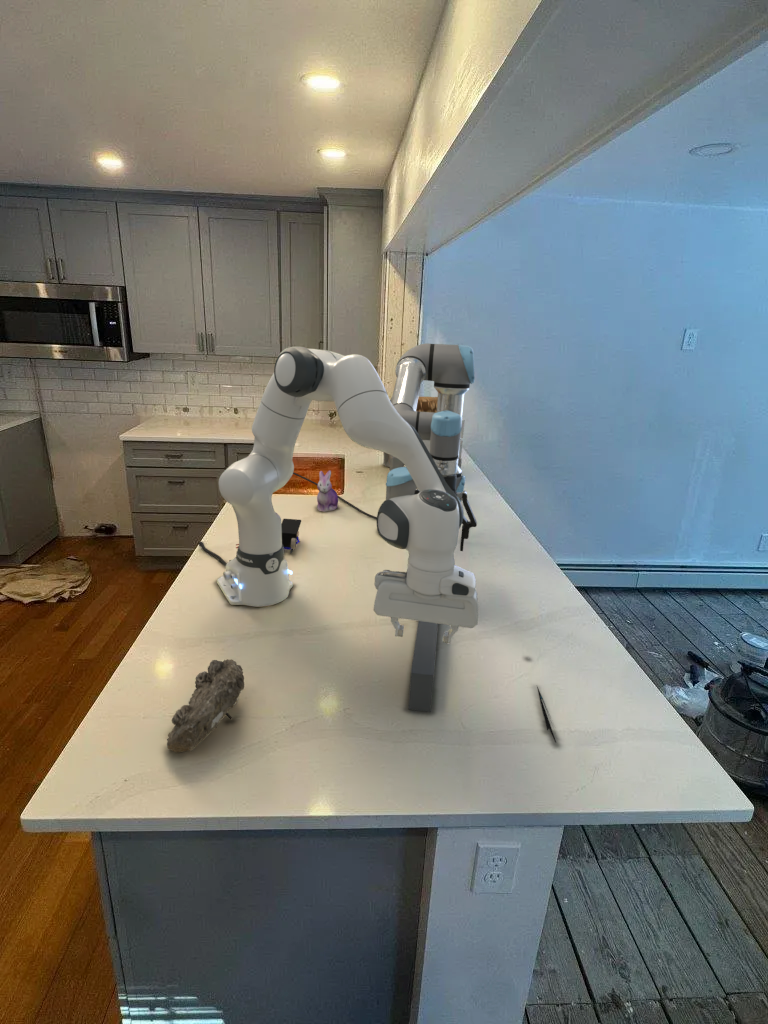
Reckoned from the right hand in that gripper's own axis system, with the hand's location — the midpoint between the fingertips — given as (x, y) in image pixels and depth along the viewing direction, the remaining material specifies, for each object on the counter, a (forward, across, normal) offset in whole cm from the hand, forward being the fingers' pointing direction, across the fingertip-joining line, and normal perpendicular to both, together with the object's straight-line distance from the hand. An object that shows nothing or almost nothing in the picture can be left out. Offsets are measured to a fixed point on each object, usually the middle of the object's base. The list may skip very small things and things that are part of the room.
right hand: (436, 546), depth 155 cm
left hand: (-1, -1, -46) cm, 46 cm away
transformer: (+18, -12, +121) cm, 123 cm away
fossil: (+12, -39, -60) cm, 73 cm away
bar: (+13, 0, -24) cm, 27 cm away
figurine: (+16, -44, +61) cm, 77 cm away
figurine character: (+15, -48, +21) cm, 54 cm away
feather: (+12, +24, -42) cm, 50 cm away
